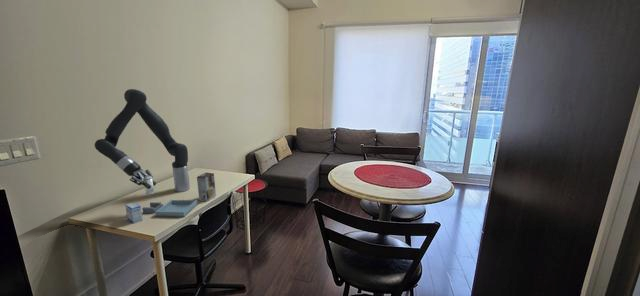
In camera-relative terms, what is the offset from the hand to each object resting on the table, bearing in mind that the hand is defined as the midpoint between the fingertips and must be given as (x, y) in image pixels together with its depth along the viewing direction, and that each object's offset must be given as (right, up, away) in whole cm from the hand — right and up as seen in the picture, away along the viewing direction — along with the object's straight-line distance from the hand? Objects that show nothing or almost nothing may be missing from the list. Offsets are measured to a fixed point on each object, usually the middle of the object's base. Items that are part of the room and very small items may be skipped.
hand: (152, 186), depth 155 cm
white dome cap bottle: (-2, -4, +1) cm, 5 cm away
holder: (-2, -14, +3) cm, 15 cm away
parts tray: (+13, -15, +3) cm, 20 cm away
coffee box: (+23, -11, +20) cm, 33 cm away
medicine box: (-4, -17, -8) cm, 20 cm away
